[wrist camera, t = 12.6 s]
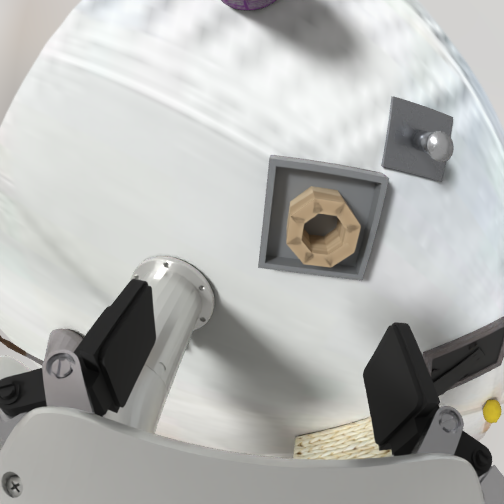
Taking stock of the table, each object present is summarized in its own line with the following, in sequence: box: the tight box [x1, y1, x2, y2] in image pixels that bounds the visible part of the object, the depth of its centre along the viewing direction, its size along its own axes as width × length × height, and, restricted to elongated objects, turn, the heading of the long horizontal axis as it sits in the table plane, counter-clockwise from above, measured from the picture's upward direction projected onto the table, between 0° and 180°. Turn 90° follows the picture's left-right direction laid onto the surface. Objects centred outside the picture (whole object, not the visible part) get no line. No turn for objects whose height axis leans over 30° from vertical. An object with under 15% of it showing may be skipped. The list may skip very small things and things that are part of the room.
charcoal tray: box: [258, 155, 389, 280], centre depth 31 cm, size 12×12×2 cm
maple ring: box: [286, 186, 361, 267], centre depth 29 cm, size 7×7×4 cm
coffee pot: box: [0, 329, 83, 365], centre depth 42 cm, size 21×12×15 cm, turn 29°
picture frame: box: [423, 317, 504, 396], centre depth 40 cm, size 16×2×21 cm
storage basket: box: [293, 417, 392, 460], centre depth 49 cm, size 24×16×15 cm
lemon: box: [483, 400, 501, 423], centre depth 44 cm, size 6×6×8 cm
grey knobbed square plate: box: [382, 97, 453, 181], centre depth 23 cm, size 8×8×6 cm
